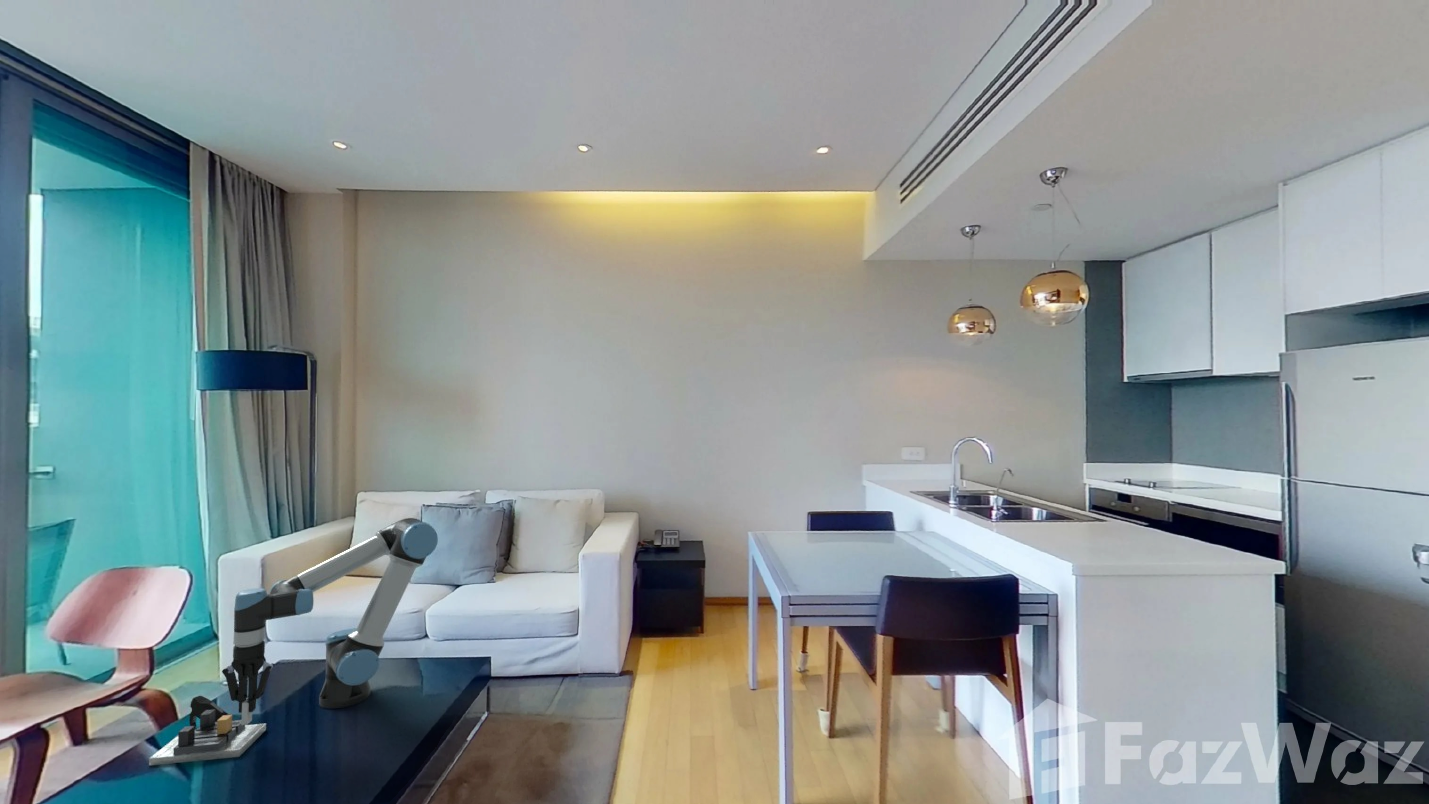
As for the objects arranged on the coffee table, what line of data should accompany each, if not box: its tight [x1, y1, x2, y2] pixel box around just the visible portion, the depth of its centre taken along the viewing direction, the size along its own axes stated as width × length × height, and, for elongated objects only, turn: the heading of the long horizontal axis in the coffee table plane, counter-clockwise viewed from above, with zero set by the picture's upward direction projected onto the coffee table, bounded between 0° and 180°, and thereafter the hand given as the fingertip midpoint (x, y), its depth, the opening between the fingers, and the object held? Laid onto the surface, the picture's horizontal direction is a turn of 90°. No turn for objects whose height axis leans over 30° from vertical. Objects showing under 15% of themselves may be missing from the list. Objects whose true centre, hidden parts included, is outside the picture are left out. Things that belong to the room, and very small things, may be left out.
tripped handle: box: [217, 714, 233, 734], centre depth 180 cm, size 2×3×4 cm
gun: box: [188, 695, 234, 726], centre depth 190 cm, size 3×16×10 cm, turn 79°
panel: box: [148, 709, 267, 766], centre depth 179 cm, size 22×15×8 cm
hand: (246, 722), depth 181 cm, fingers closed
